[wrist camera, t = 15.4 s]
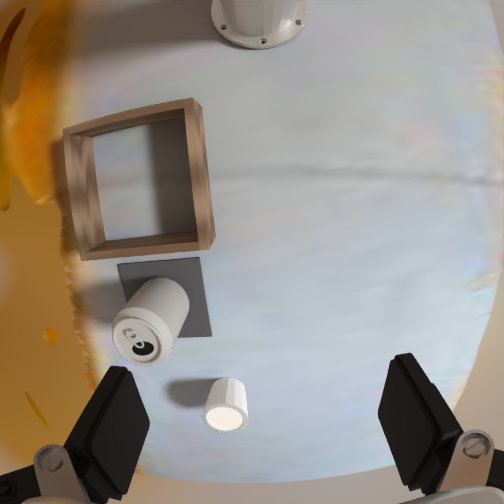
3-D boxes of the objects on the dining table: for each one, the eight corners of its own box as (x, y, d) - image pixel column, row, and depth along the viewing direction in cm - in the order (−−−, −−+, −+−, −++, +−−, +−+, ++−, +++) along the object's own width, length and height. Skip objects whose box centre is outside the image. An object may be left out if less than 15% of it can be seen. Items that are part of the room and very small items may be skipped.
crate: (85, 131, 37) (62, 129, 31) (202, 107, 36) (192, 97, 30) (101, 248, 41) (81, 261, 36) (215, 237, 41) (208, 249, 35)
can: (155, 328, 44) (128, 376, 33) (132, 285, 42) (94, 324, 31) (199, 314, 43) (181, 363, 32) (176, 267, 41) (147, 305, 30)
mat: (119, 263, 42) (118, 264, 42) (199, 257, 41) (198, 258, 41) (137, 336, 45) (136, 338, 45) (211, 335, 45) (211, 336, 44)
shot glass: (229, 367, 46) (225, 396, 40) (258, 392, 48) (257, 421, 41) (199, 387, 48) (192, 416, 41) (227, 410, 49) (224, 439, 42)
